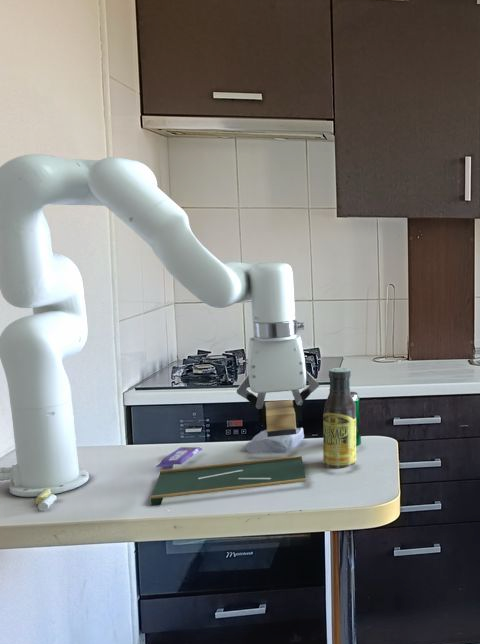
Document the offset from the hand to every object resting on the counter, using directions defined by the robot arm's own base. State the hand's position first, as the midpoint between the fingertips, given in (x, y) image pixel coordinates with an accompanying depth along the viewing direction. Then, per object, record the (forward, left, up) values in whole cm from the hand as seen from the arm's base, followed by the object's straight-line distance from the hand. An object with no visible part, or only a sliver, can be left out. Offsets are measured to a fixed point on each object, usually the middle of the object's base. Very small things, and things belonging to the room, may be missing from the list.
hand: (280, 425), depth 140 cm
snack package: (-19, +16, -10) cm, 27 cm away
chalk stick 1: (-40, +2, -9) cm, 41 cm away
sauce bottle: (+11, +1, -10) cm, 15 cm away
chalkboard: (-9, 0, -10) cm, 14 cm away
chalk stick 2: (-39, -1, -9) cm, 40 cm away
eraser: (0, 0, -1) cm, 1 cm away
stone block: (-1, +18, -10) cm, 21 cm away
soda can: (+14, +13, -10) cm, 22 cm away
